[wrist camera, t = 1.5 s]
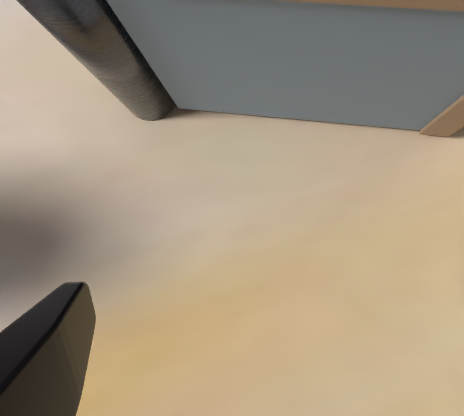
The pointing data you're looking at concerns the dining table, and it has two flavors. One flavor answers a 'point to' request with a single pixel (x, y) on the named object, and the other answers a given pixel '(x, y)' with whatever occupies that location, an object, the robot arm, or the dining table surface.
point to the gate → (309, 58)
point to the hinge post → (105, 52)
